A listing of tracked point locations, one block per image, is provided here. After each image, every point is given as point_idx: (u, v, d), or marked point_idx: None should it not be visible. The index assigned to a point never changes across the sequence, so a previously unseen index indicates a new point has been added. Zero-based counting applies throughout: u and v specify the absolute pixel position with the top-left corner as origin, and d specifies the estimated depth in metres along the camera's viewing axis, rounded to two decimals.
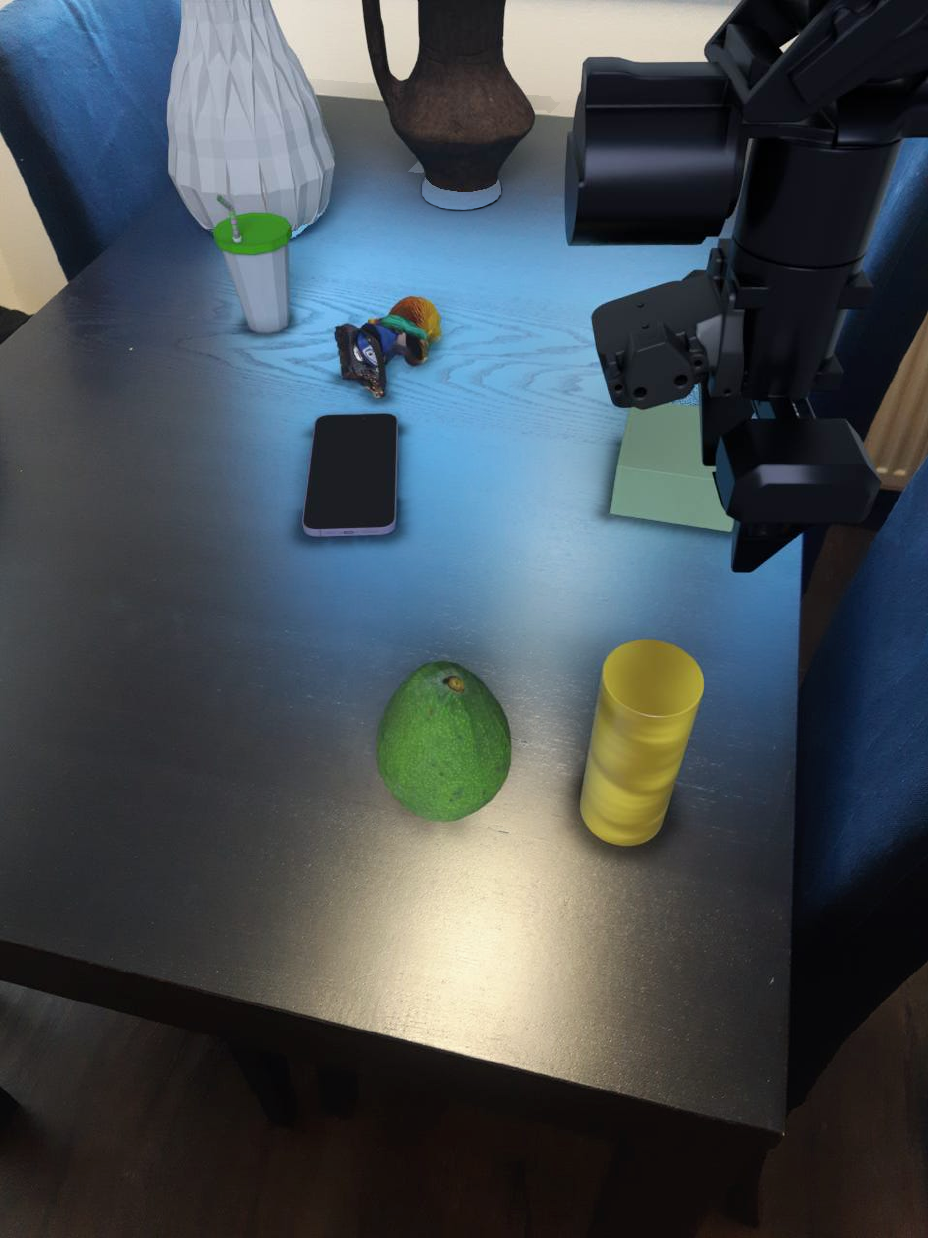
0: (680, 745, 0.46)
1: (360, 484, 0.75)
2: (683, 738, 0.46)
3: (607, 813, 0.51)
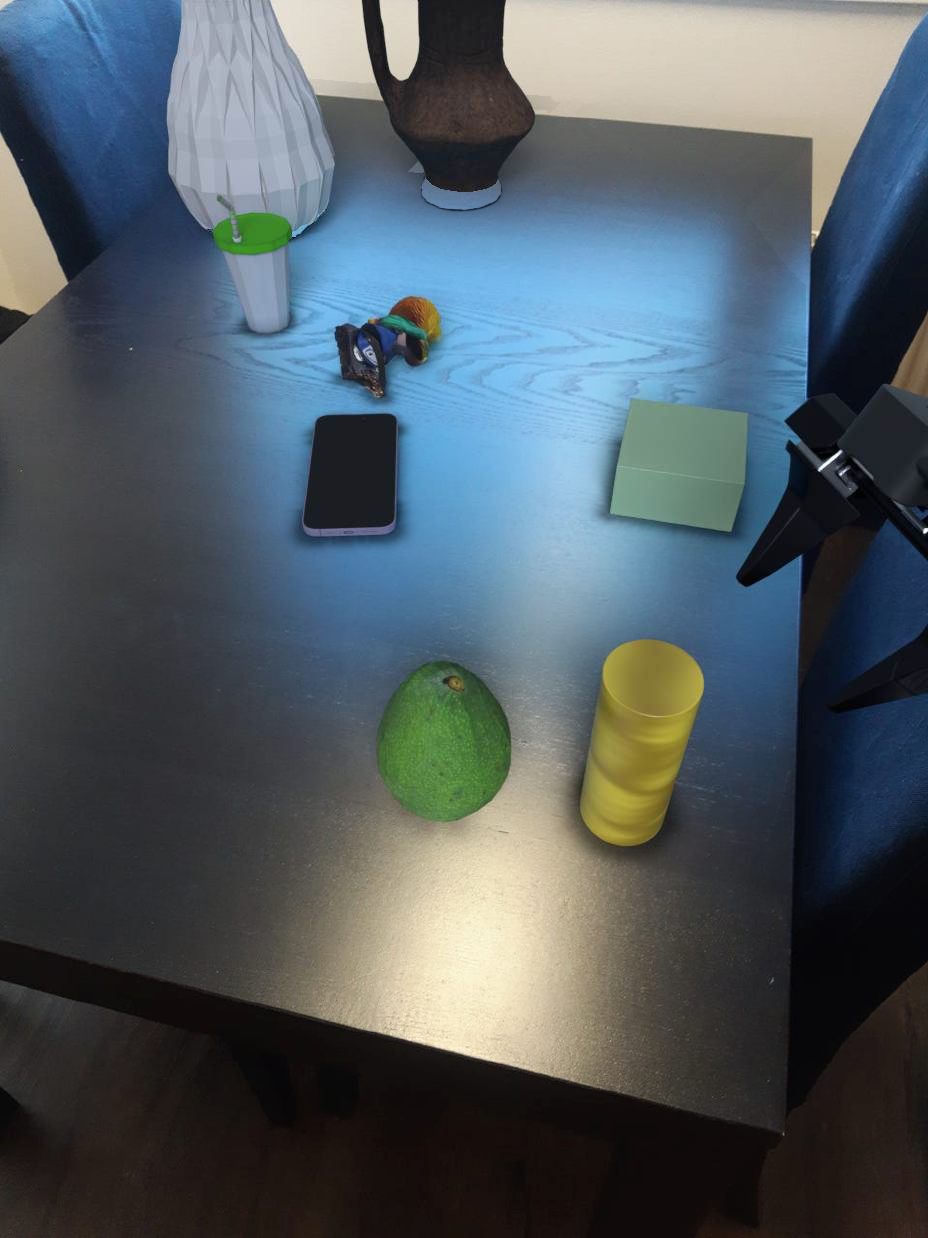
0: (680, 745, 0.46)
1: (360, 483, 0.75)
2: (683, 738, 0.46)
3: (607, 813, 0.51)
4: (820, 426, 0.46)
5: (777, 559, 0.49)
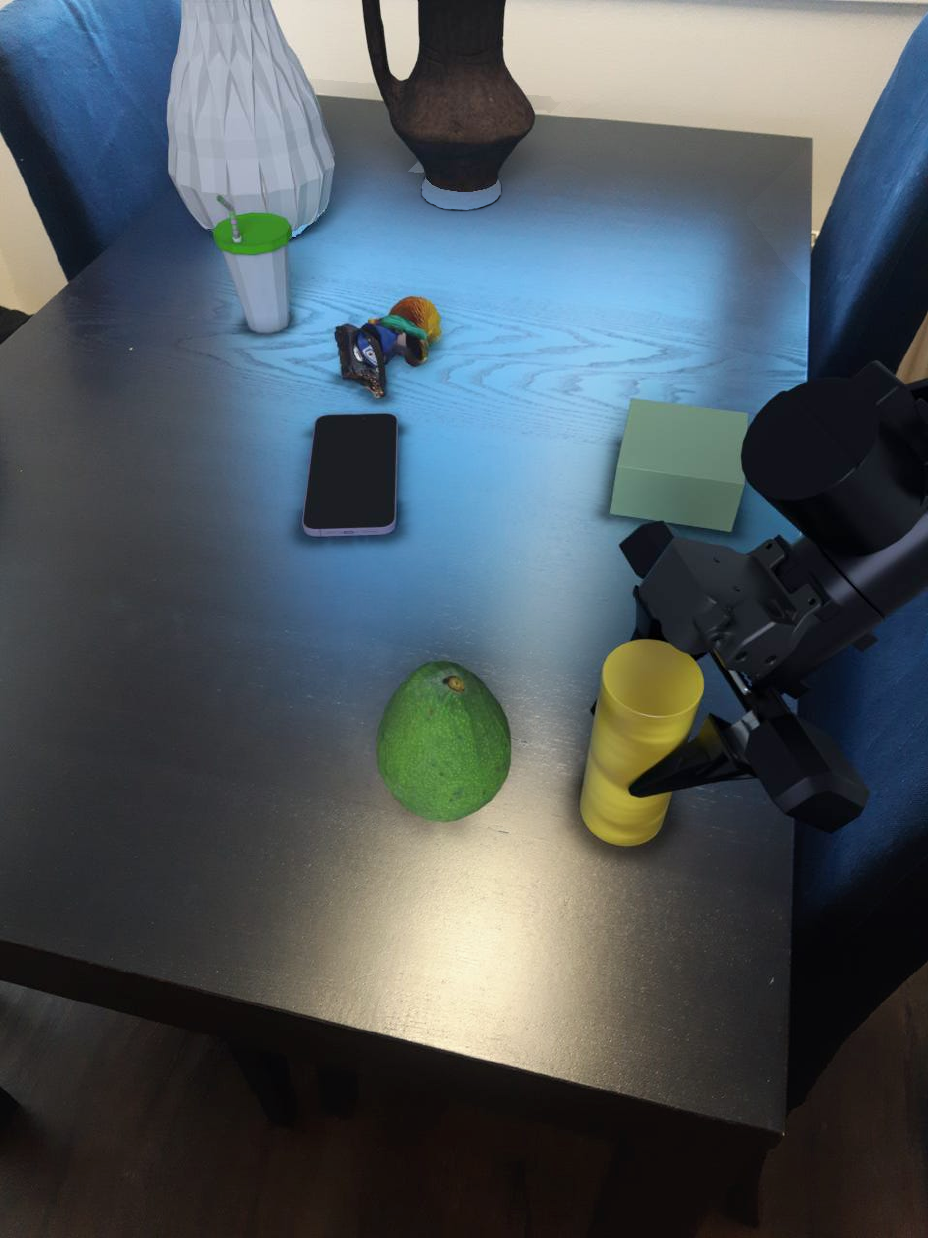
0: (680, 745, 0.46)
1: (360, 484, 0.75)
2: (683, 738, 0.46)
3: (607, 813, 0.51)
4: (646, 554, 0.49)
5: None
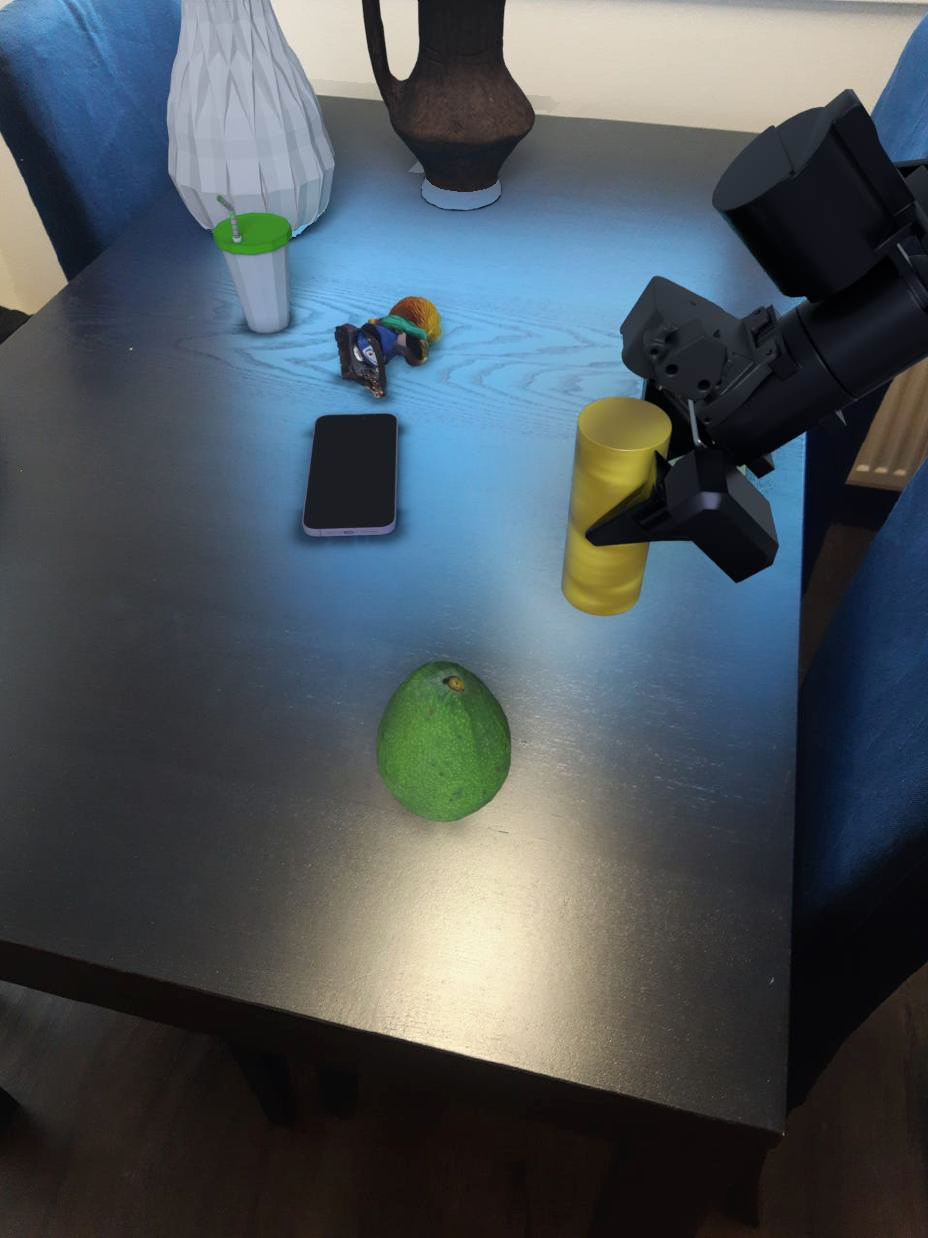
0: None
1: (360, 483, 0.75)
2: None
3: (574, 569, 0.55)
4: None
5: None
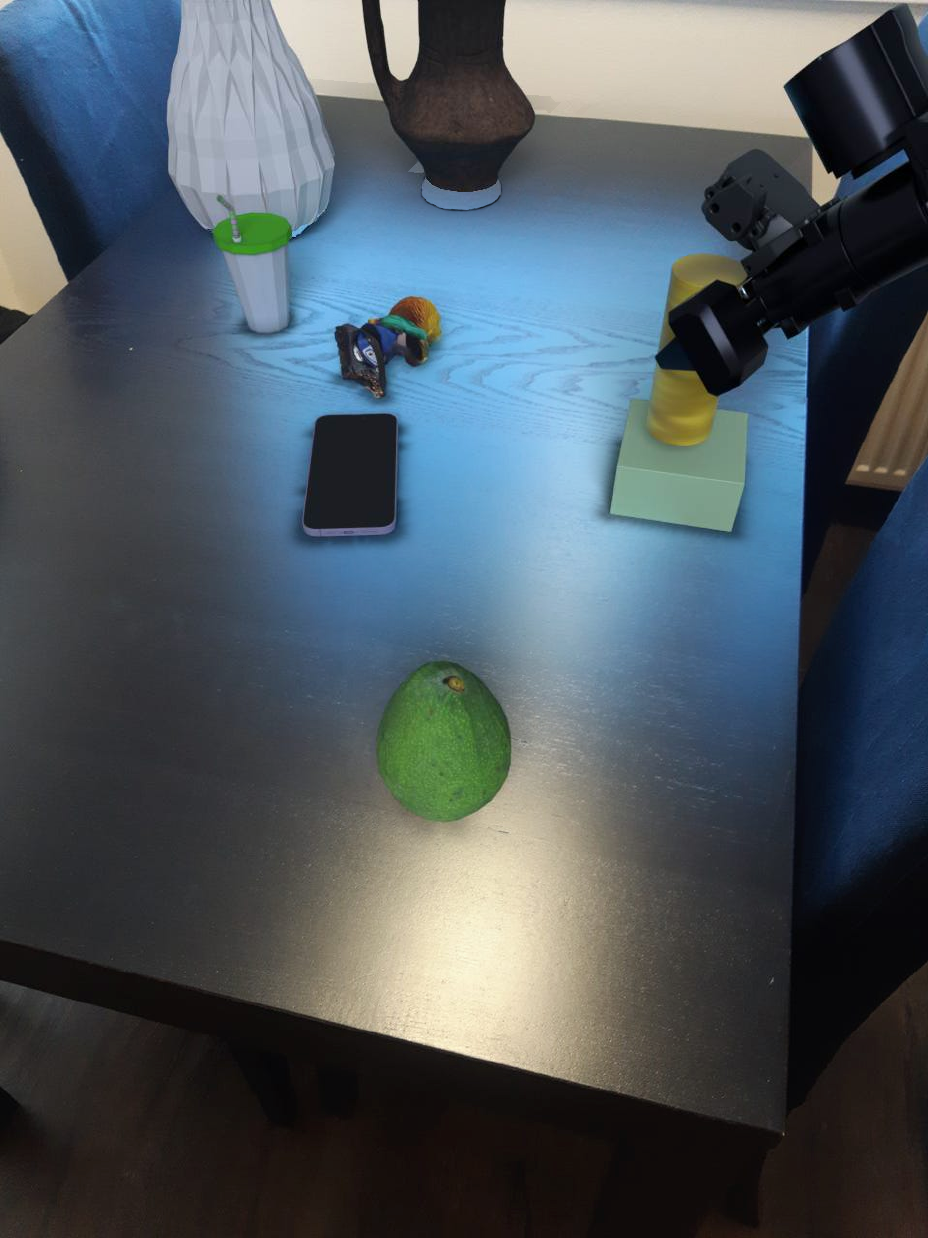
0: None
1: (360, 484, 0.75)
2: None
3: (651, 393, 0.68)
4: None
5: None
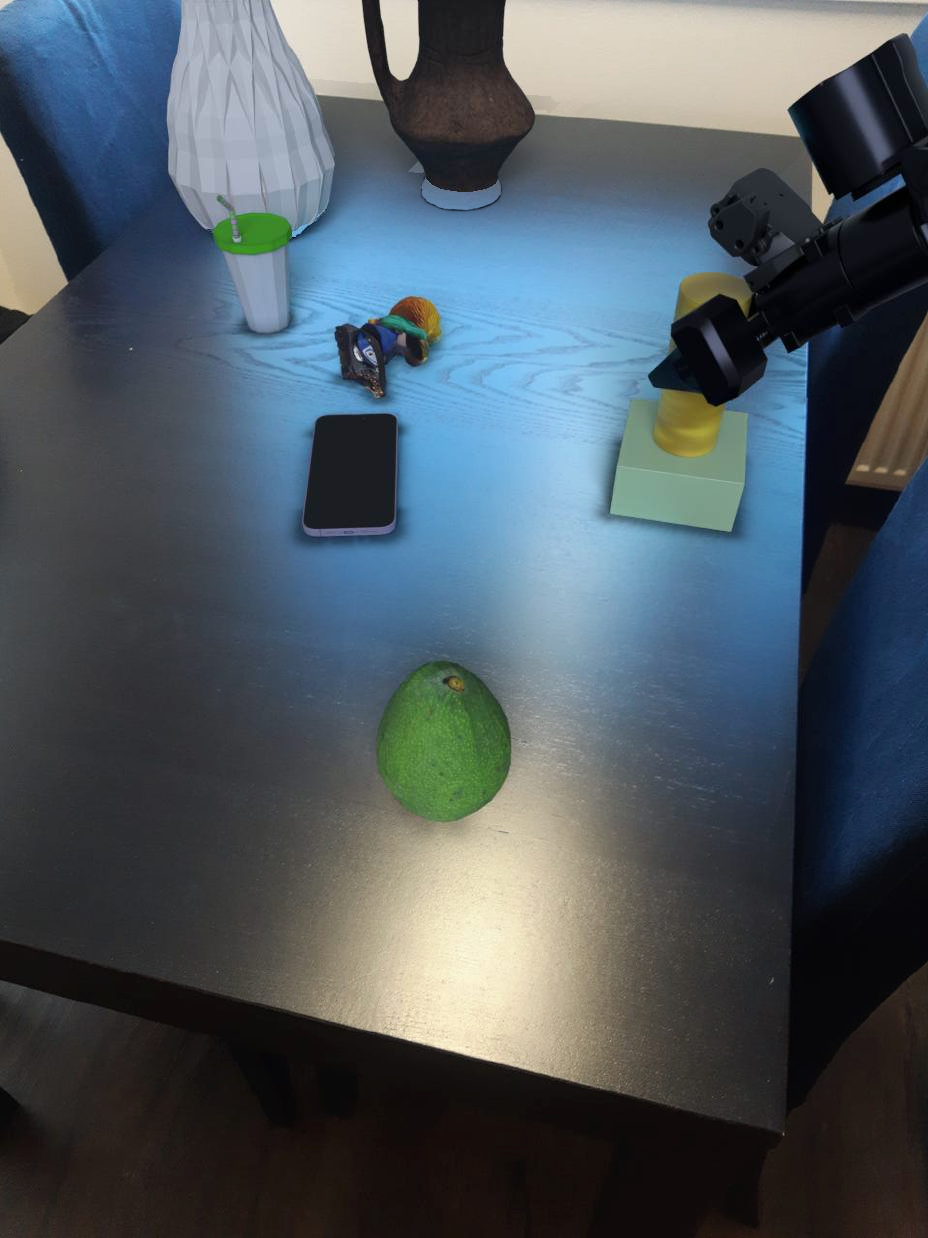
0: None
1: (360, 483, 0.75)
2: None
3: (658, 405, 0.71)
4: None
5: None
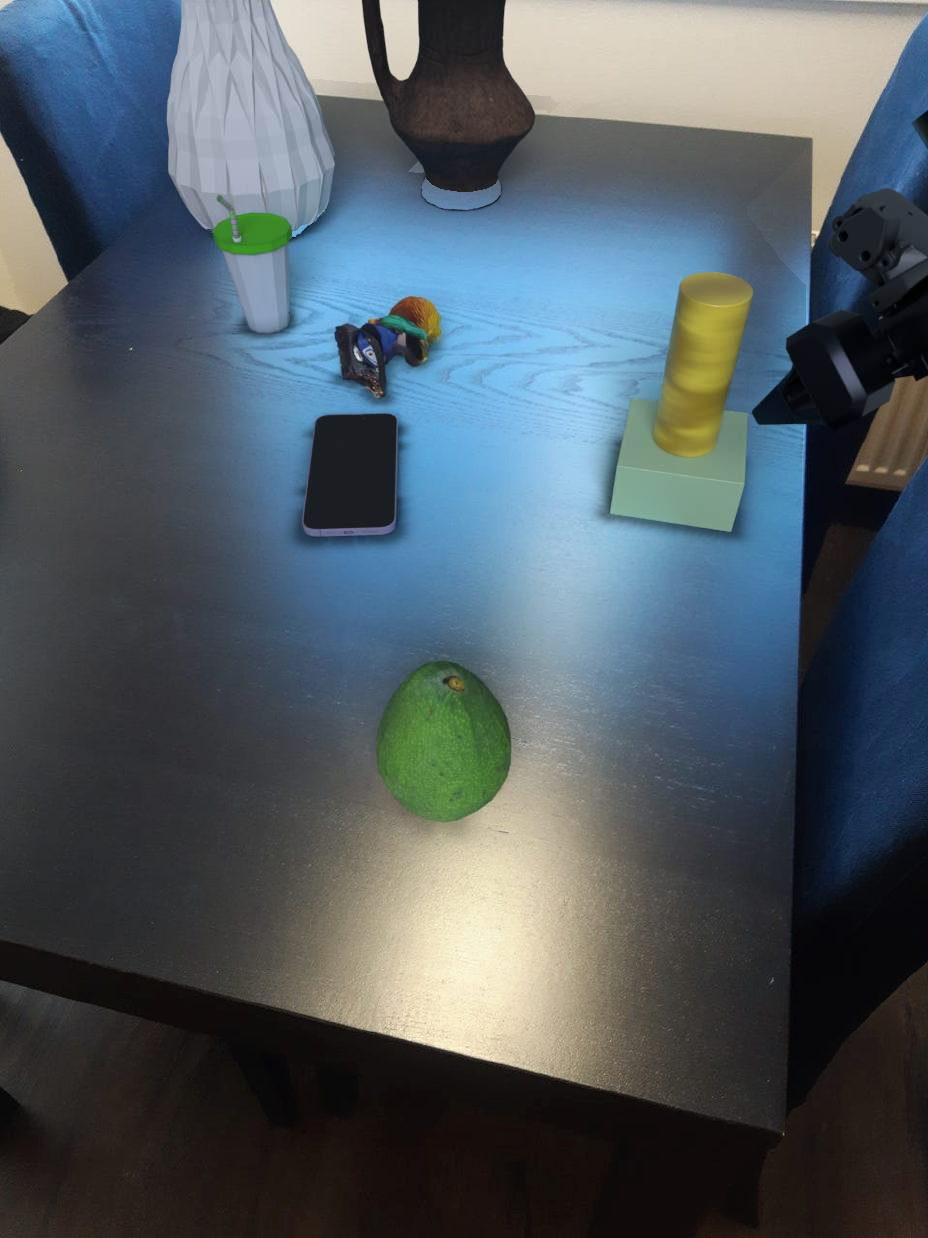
0: (702, 348, 0.64)
1: (360, 484, 0.75)
2: (705, 341, 0.64)
3: (658, 405, 0.71)
4: None
5: None
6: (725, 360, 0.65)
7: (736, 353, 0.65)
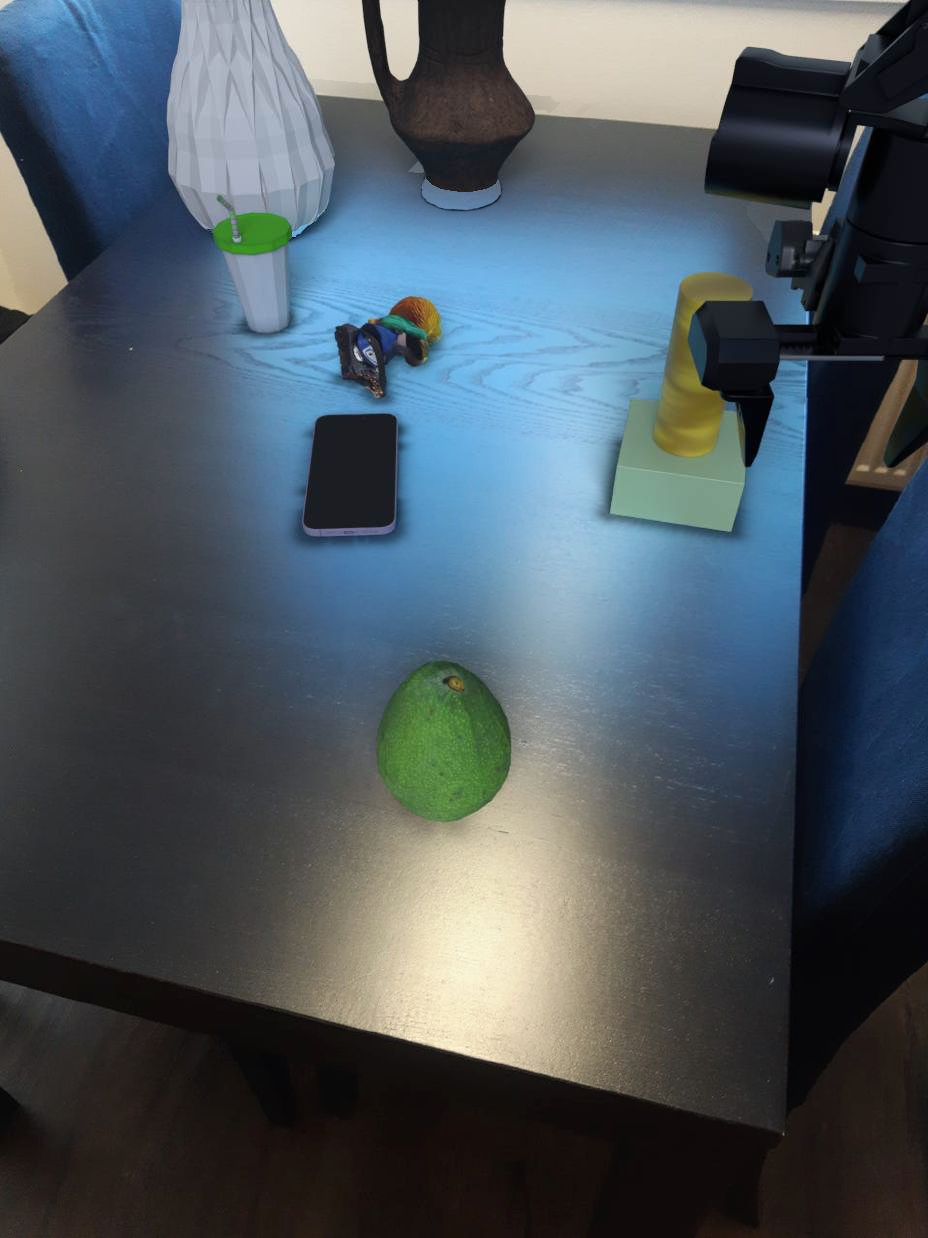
0: None
1: (360, 484, 0.75)
2: None
3: (658, 405, 0.71)
4: None
5: (901, 437, 0.55)
6: None
7: None
